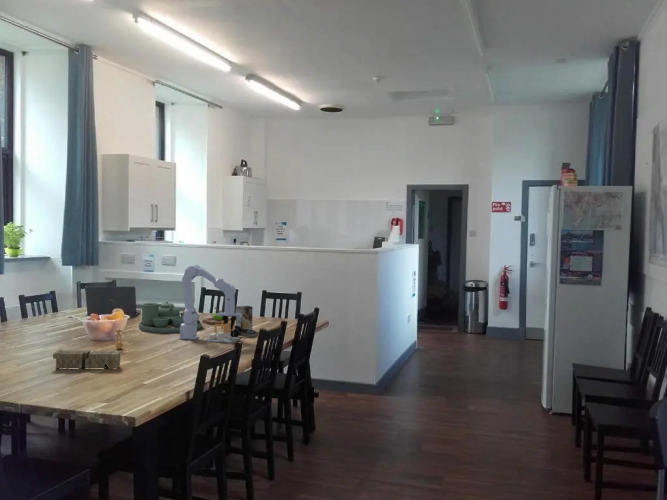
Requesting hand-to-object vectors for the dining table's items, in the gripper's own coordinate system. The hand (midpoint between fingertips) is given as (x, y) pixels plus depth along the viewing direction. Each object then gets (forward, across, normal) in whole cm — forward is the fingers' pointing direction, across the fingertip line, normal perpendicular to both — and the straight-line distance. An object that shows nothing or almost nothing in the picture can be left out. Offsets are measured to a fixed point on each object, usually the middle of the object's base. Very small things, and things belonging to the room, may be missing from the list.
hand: (229, 328), depth 346 cm
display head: (+7, -4, 0) cm, 8 cm away
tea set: (+8, -49, +31) cm, 59 cm away
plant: (+8, -26, +58) cm, 64 cm away
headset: (+8, +3, +16) cm, 18 cm away
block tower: (+8, -45, -77) cm, 90 cm away
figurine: (+7, -50, -38) cm, 63 cm away
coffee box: (+7, 0, +32) cm, 33 cm away
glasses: (+1, -3, 0) cm, 3 cm away
